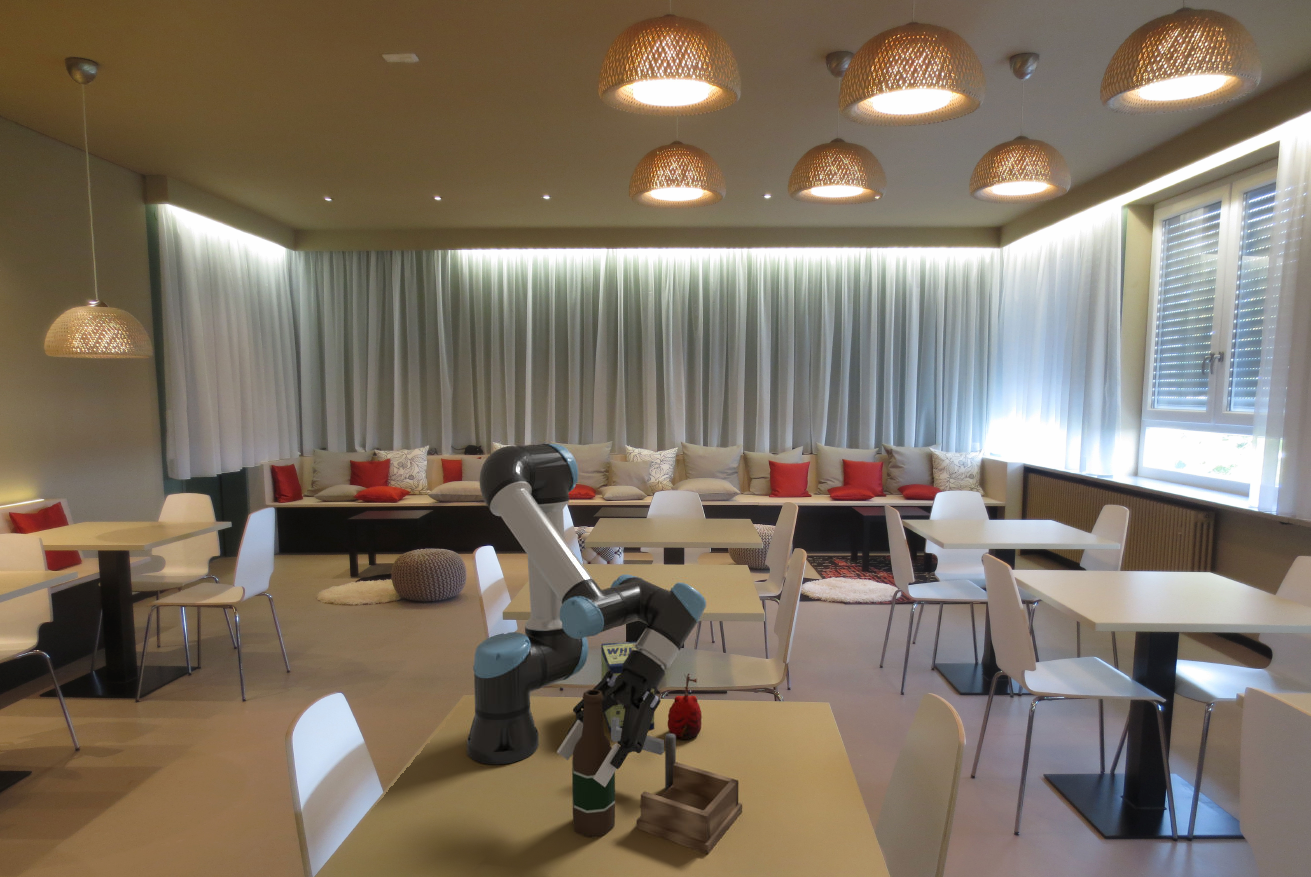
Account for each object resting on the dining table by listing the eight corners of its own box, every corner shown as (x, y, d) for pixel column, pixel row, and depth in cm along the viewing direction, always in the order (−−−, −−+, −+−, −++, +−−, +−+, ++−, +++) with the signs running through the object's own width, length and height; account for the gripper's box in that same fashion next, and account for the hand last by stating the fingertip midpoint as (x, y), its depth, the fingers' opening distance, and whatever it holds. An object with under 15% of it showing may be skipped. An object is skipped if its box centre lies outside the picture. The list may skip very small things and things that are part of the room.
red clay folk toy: (698, 726, 164) (698, 662, 163) (704, 741, 157) (705, 674, 156) (665, 728, 163) (665, 664, 162) (670, 743, 156) (670, 676, 155)
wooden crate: (626, 824, 127) (626, 767, 126) (668, 785, 140) (668, 732, 139) (708, 854, 119) (708, 792, 118) (744, 809, 131) (744, 753, 131)
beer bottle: (609, 841, 122) (608, 703, 121) (565, 835, 124) (564, 699, 122) (620, 815, 130) (620, 685, 128) (579, 810, 131) (578, 681, 130)
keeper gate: (611, 740, 144) (611, 718, 144) (614, 738, 145) (614, 716, 145) (660, 755, 138) (660, 732, 138) (663, 752, 139) (663, 729, 139)
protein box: (609, 734, 161) (609, 666, 160) (600, 704, 176) (600, 642, 175) (655, 729, 163) (655, 662, 162) (642, 701, 178) (642, 639, 177)
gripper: (703, 689, 126) (633, 808, 117) (623, 653, 144) (557, 753, 135) (680, 667, 122) (606, 787, 113) (601, 632, 140) (532, 734, 131)
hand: (579, 769), depth 124 cm, fingers open, 11 cm apart
